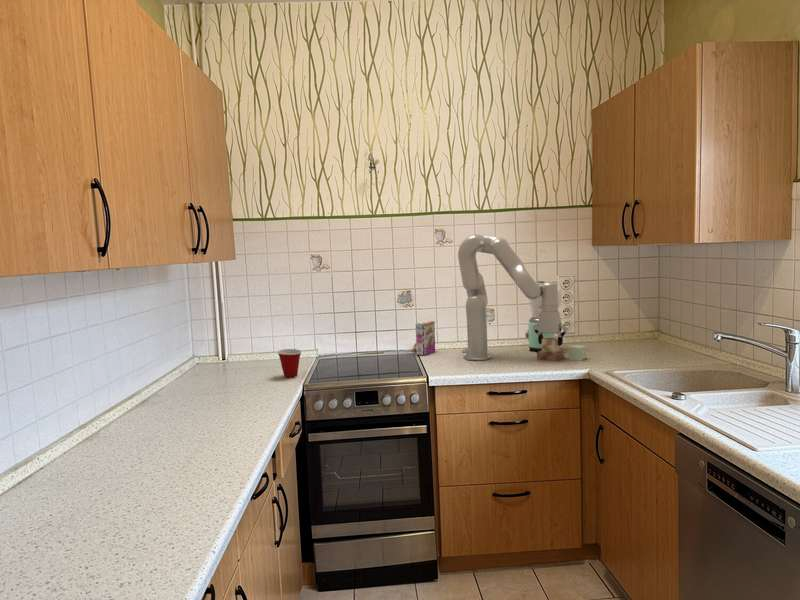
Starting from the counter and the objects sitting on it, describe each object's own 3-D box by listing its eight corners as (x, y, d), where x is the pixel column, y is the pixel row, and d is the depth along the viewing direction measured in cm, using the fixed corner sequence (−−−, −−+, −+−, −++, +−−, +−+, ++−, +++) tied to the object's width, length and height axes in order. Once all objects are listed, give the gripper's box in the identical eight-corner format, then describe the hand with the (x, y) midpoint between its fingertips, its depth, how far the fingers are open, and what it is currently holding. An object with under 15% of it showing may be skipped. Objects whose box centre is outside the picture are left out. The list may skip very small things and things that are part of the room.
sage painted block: (568, 359, 279) (568, 347, 278) (573, 357, 284) (573, 344, 283) (580, 360, 275) (580, 348, 275) (585, 358, 280) (585, 345, 279)
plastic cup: (297, 379, 263) (295, 352, 262) (275, 379, 266) (273, 352, 264) (307, 373, 273) (305, 348, 272) (285, 373, 276) (283, 348, 275)
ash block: (541, 351, 282) (541, 339, 281) (547, 349, 286) (547, 337, 286) (553, 352, 278) (553, 340, 277) (559, 350, 283) (559, 338, 282)
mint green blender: (520, 350, 304) (519, 282, 300) (532, 346, 314) (531, 280, 310) (555, 354, 292) (554, 283, 288) (567, 349, 302) (566, 280, 298)
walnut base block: (536, 360, 281) (536, 352, 281) (544, 356, 289) (543, 348, 289) (557, 362, 276) (557, 353, 275) (564, 358, 284) (564, 350, 284)
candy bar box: (424, 356, 302) (423, 324, 300) (416, 355, 305) (414, 323, 303) (436, 352, 311) (434, 320, 309) (428, 351, 314) (426, 320, 312)
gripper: (529, 308, 283) (530, 344, 284) (563, 310, 272) (564, 347, 273) (536, 306, 288) (537, 341, 290) (570, 308, 277) (571, 344, 279)
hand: (550, 344), depth 282 cm, fingers open, 9 cm apart
